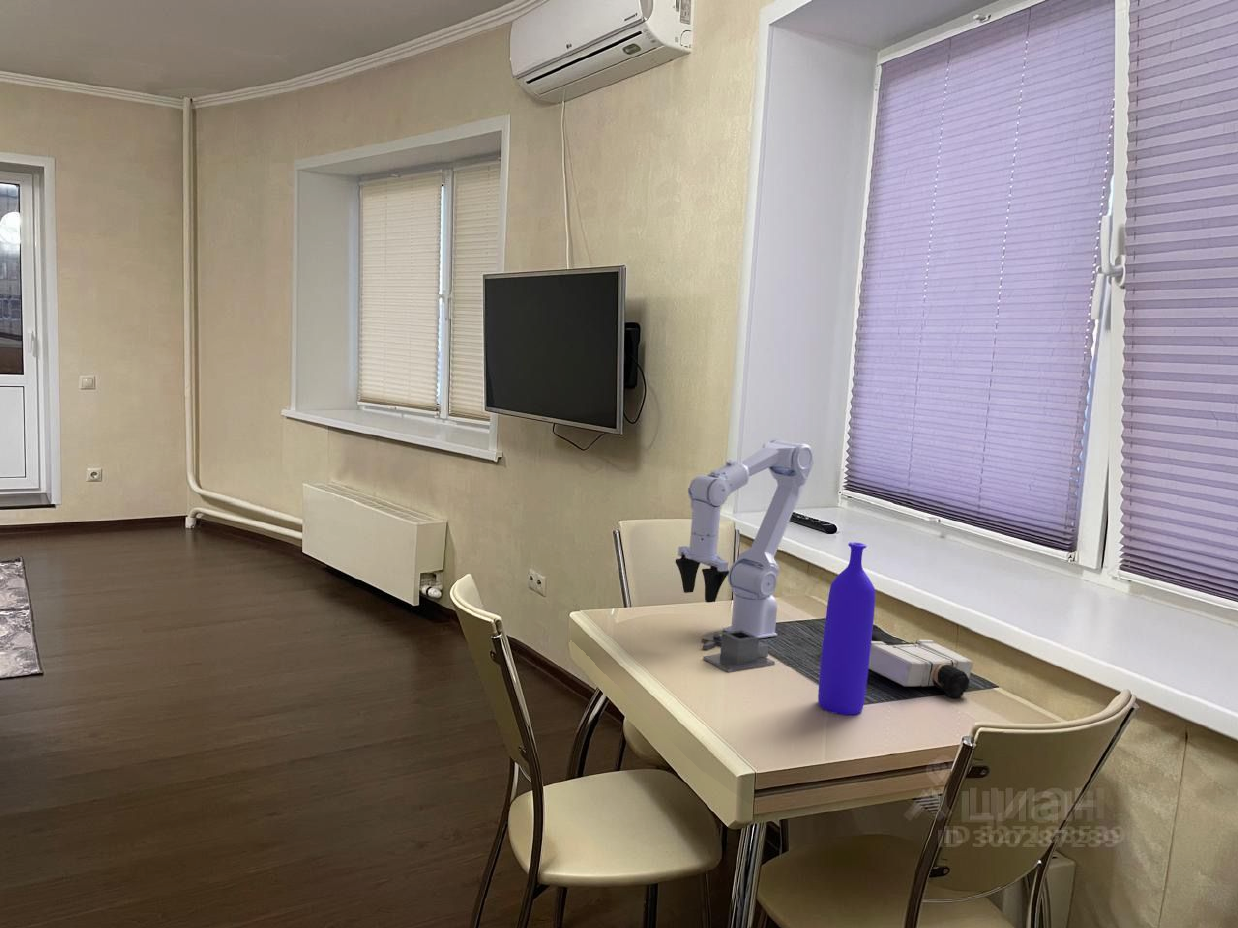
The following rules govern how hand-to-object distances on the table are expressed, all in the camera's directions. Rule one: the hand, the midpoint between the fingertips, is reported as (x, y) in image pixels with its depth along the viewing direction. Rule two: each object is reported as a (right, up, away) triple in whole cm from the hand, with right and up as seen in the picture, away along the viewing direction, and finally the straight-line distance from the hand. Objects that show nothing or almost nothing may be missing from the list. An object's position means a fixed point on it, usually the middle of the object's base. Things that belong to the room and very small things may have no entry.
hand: (699, 596), depth 198 cm
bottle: (+23, -16, -28) cm, 40 cm away
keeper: (+7, -12, -8) cm, 16 cm away
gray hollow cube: (+7, -11, -8) cm, 16 cm away
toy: (+40, -15, -7) cm, 44 cm away
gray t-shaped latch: (+3, -10, +3) cm, 11 cm away
